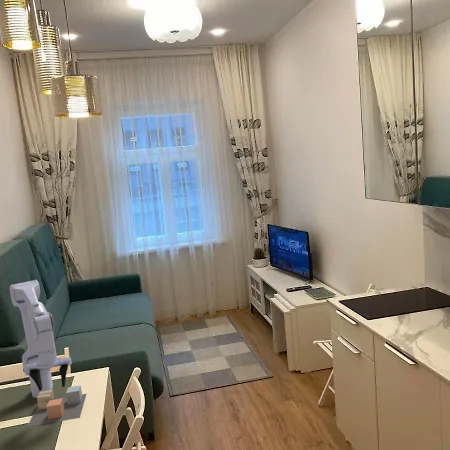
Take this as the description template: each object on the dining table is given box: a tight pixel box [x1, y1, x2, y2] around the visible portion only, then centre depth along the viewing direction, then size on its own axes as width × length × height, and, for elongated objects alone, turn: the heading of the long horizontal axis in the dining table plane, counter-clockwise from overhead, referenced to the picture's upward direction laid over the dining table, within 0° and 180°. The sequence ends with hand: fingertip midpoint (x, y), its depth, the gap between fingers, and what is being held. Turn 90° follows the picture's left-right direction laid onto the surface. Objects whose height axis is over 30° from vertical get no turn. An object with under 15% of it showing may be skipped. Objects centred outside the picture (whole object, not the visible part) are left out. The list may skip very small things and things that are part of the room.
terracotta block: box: [47, 397, 64, 419], centre depth 165 cm, size 4×4×4 cm
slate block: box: [65, 384, 83, 405], centre depth 174 cm, size 4×4×4 cm
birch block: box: [36, 389, 55, 410], centre depth 173 cm, size 4×4×4 cm
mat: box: [26, 393, 87, 428], centre depth 169 cm, size 18×17×1 cm
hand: (52, 387), depth 164 cm, fingers open, 7 cm apart
